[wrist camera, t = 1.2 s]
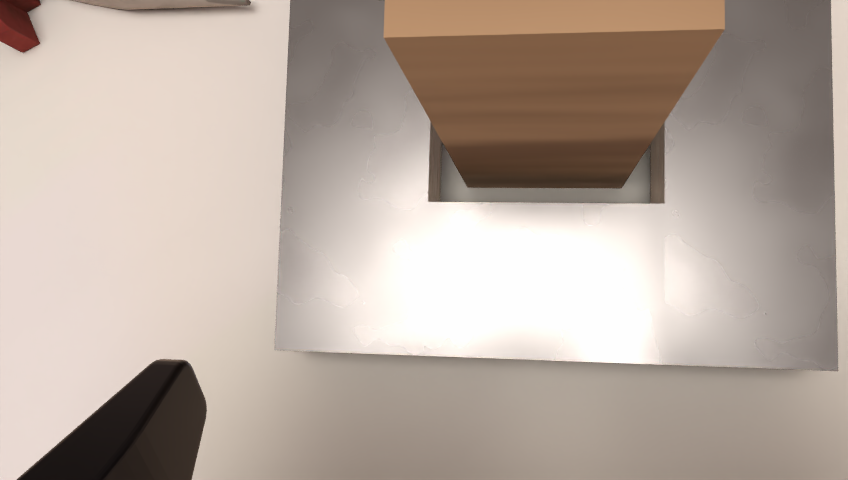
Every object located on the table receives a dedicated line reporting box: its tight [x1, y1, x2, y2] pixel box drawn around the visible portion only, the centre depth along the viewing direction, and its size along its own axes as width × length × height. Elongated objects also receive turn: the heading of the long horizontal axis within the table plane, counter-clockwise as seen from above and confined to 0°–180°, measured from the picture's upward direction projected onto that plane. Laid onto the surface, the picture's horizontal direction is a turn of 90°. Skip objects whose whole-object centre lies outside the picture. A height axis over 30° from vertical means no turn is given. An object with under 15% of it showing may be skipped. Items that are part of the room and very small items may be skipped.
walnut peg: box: [384, 0, 725, 188], centre depth 16 cm, size 4×4×12 cm
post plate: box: [275, 0, 838, 371], centre depth 21 cm, size 14×14×2 cm
